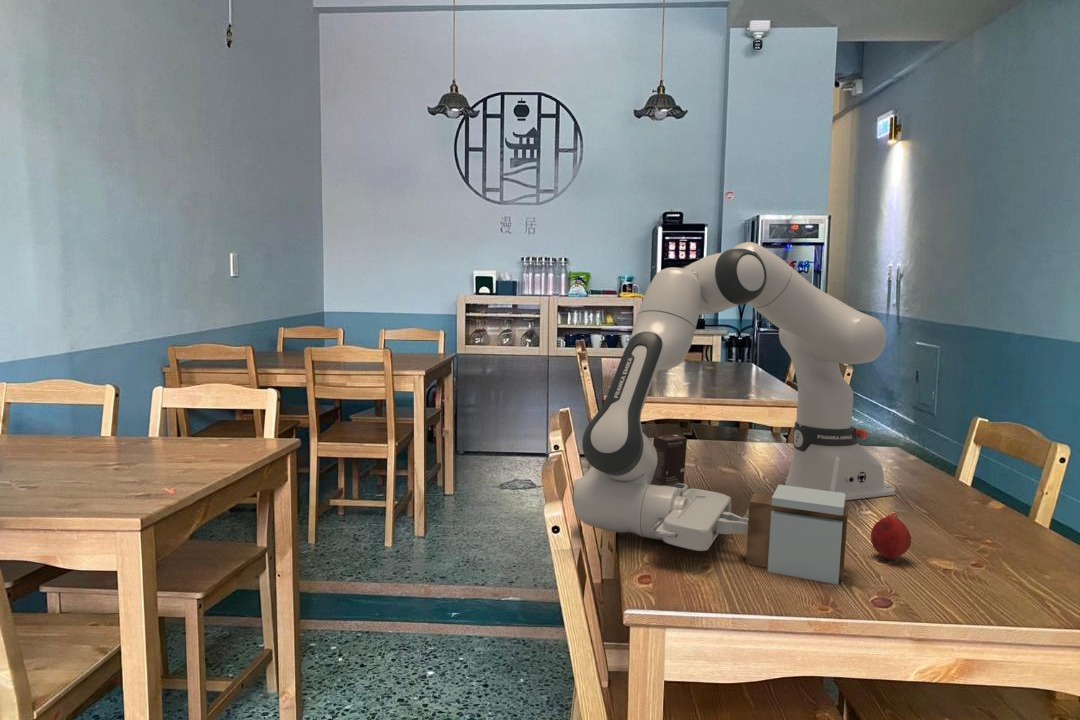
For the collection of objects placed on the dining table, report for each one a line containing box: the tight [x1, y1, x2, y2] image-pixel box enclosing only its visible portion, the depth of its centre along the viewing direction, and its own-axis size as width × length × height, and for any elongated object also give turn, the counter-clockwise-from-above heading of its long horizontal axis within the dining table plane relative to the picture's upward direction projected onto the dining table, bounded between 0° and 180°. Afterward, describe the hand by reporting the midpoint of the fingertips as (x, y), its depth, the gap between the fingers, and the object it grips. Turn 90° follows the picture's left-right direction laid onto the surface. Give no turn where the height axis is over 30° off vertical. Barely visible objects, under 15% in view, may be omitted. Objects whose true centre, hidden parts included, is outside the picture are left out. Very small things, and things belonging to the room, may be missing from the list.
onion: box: [870, 511, 912, 561], centre depth 116 cm, size 6×6×8 cm
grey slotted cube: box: [767, 484, 846, 585], centre depth 111 cm, size 10×8×12 cm
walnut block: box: [745, 493, 849, 582], centre depth 112 cm, size 14×5×10 cm, turn 65°
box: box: [651, 433, 688, 486], centre depth 151 cm, size 6×4×12 cm
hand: (750, 526), depth 115 cm, fingers closed, pressing on walnut block
